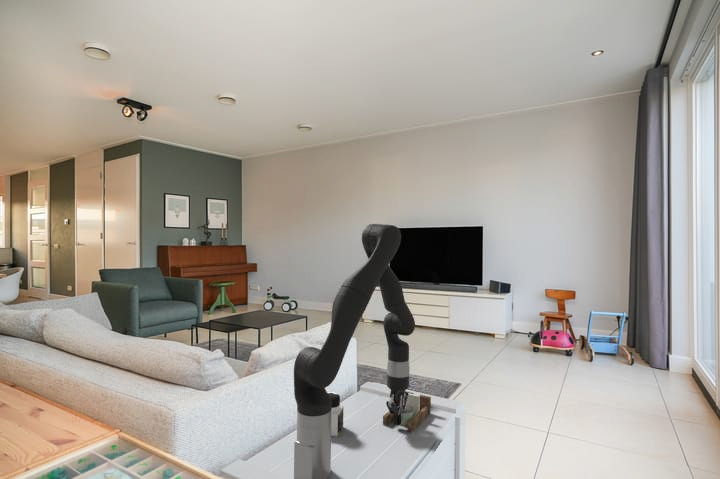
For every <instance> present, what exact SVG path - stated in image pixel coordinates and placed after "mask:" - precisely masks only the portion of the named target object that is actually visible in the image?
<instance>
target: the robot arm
mask: <svg viewBox="0 0 720 479" xmlns="http://www.w3.org/2000/svg"><path fill="white" fill-rule="evenodd" d="M401 240H402V233H401V229H400V228H399V227H397V226H396V225H392V224H380V223H370V224H368V225H366V226H365V227H364V228H363V230H362V233H361V243H362V246H363V250H364V252H365V254H366V256H367V259H368V260H367V261H366V262H365V263H363V265H361V266H360V267H359V268H358V269H357V270H355V271H354V272H353V273H351V274H350V275H349V276H348V277H347V278H346V279H345V280H344V282H343V283H342V284H341V286H340V288H339V289H338V292H337V294H336V295H335V298H334V299H333V303H332V306H331V308H332V309H331V321H330V329H329V333H328V334H327V335H328V336H327V337H326V339H325V341H324V343H323V345H322V347H321V349H320V348H317V347H313V346H307V347H305V348H303V349H301V350H300V351H299V353H298V354H297V356H296V358H295V360H294V366H293V386H294V387H293V391H294V392H293V394H294V399H295V402H296V405H297V406H296V408H297V409H296V410H297V411H296V415H297V416H296V440H295V441H294V443H293V444H294V445H293V446H294V447H293V453H294V454H293V456H294V457H293V461H294V462H293V478H294V479H328V478H329V477H330V476H331V472H332V470H331V469H332V468H331V464H332V463H331V462H332V457H331V456H332V436H331V414H332V401H331V397H330V396H329V394H328V392H327V390H326V388H328V387H329V386H330V385H331V384H332V383H333V381H335V379H336V377H337V375H338V373H339V371H340V368H341V365H342V363H343V360H344V357H345V355H346V352H347V349H348V347H349V344H350V343H351V340H352V338H353V335H354V333H355V332H356V329H357V327H358V324H359V322H360V321H361V318H362V316H363V315H364V313H365V311H366V309H367V308H368V305H369V303H370V300H371V298H372V296H373V294H374V292H375V290H376V288H377V286H379V290H380V294H381V297H382V302H383V305H384V307H383V308H384V309H385V310H386V311H387V312H388V313H387V314H386V315H385V317H384V319H383V324H382V325H383V329H384V330H383V331H384V335H385V338H386V343H387V347H388V348H387V352H388V353H387V365H386V366H387V367H386V387H387V388H388V389H389V390H390V393H389V398H390V399H389V401H388V400H387V401H386V402H385V403H386V407H387V409H388V412H390V413H391V414H394V418H393V420H392V422H393V423H392V424H393V425H394V426H396V427H399V426H401V425H400V424H401V413H402V412H403V410H404V409H405V405H406V402H407V398H408V394H409V393H408V392H409V391H407V390H408V389H409V388H410V369H411V368H410V345H409V343H408V342H406V340H405V341H404V340H403V339H401V338H400V337H399V336H410V335H412V334H413V333H414V331H415V329H416V321H415V318H414V315H413V314H412V311H411V310H410V308H409V306H408V305H407V304H408V303H406V300H405V295H404V290H403V287H402V284H401V282H400V280H399V278H398V276H397V275H396V274H395V273H394V271H393V269H392V268H391V267H390V263H391V262H392V260H393V258H394V257H395V255H396V253H397V252H398V249H399V248H400V245H401V242H402V241H401ZM406 391H407V392H406Z"/></svg>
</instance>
